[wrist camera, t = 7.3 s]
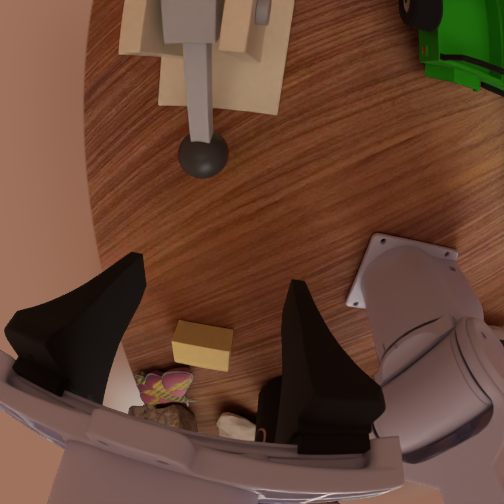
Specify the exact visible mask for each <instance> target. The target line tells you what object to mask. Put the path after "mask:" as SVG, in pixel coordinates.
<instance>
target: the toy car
mask: <svg viewBox="0 0 504 504" xmlns="http://www.w3.org/2000/svg"><path fill="white" fill-rule="evenodd" d="M399 11H400V16H401V19H402V21H403V22H404V24H406V25H407V26H408V27H411V28H415V29H419V62H422V63H425V76H426V77H431V78H436V79H441V80H445V81H450V82H454V83H457V84H460V85H463V86H466V87H469V88H472V89H473V91H480V81H481V86H482V87H483V88H485V89H487V90H489V91H492V92H494V93H497V94H499V95H501V96H503V97H504V0H399Z"/></svg>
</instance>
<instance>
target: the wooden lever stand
mask: <svg viewBox="0 0 504 504" xmlns="http://www.w3.org/2000/svg"><path fill="white" fill-rule="evenodd" d="M294 2H295V0H225V3H224V9H223V16H222V23H221V30H220V38H219V39H218V40H217V42H216V43H212V102H213V108H221V109H231V110H241V111H249V112H257V113H265V114H271V115H277V114H278V108H279V102H280V95H281V89H282V82H283V76H284V69H285V62H286V56H287V49H288V42H289V36H290V29H291V22H292V16H293V9H294ZM119 54H120V55H143V56H157V57H162V59H161V70H160V84H159V100H158V105H166V106H187V98H186V86H185V73H184V59H183V43H172V44H165V43H164V35H163V24H162V11H161V0H125V3H124V9H123V16H122V24H121V32H120V42H119Z"/></svg>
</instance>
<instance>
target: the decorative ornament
mask: <svg viewBox="0 0 504 504" xmlns="http://www.w3.org/2000/svg"><path fill="white" fill-rule="evenodd" d="M135 378H136V379H137V381H138V382H139V383H138V384H137V387H138V389H139V390H140V391H142V392H141V393H140V397H141V399H142V401H143V402H144V403H145V404H146V405H155V404H160V403H167V402H171V401H176V402H185V403H186V405H187V407H188V405H189V404H188V402H198V401H199V400H195V399H189V398H187V397H186V395H185V393H186V391H187V389H188V387H189V385H190V384H191V382H192V381H193V376H192V372H191V370H190V368H185V367H180V368H173V369H170V370H168V371H167V372H165V373H163V372H161V371H158V370H154V371H152V372H150V373H149V374H147V373H145V372H139V373H138V374H136V375H135Z"/></svg>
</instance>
